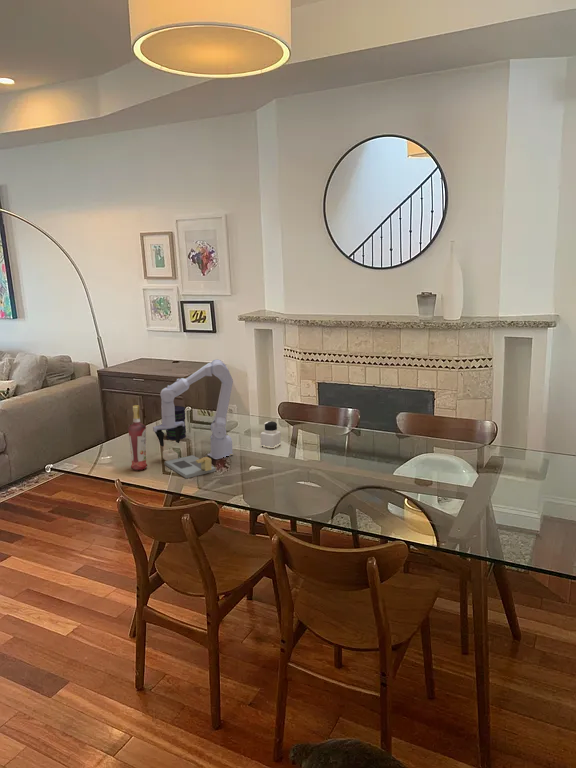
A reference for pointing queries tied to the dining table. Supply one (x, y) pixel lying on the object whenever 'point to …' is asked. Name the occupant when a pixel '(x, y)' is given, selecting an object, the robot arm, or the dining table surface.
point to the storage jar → (178, 417)
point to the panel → (187, 466)
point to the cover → (170, 455)
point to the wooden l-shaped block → (205, 463)
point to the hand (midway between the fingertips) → (169, 444)
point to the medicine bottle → (270, 434)
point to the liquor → (137, 441)
